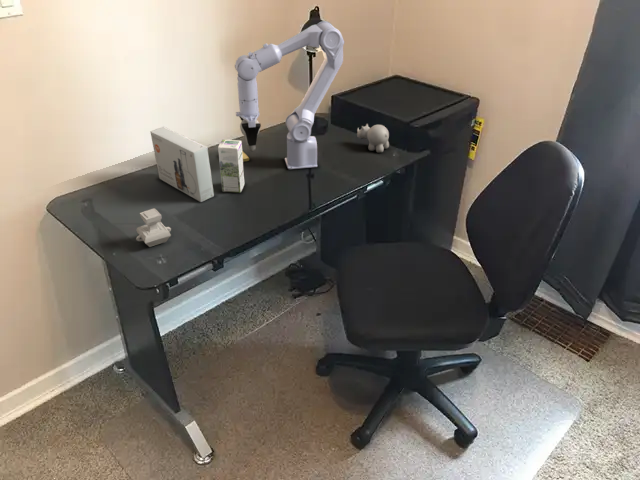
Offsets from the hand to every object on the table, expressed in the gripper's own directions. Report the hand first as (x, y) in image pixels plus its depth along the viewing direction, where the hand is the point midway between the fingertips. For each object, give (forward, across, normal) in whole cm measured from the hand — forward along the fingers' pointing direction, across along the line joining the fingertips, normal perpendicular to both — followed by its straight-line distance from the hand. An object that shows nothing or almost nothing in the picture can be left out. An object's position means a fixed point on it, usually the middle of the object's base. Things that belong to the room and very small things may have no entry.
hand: (251, 140), depth 175 cm
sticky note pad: (+9, -8, -5) cm, 14 cm away
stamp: (+9, +38, -29) cm, 48 cm away
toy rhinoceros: (+10, -9, +42) cm, 44 cm away
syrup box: (+9, +12, -7) cm, 17 cm away
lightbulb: (+4, 0, 0) cm, 4 cm away
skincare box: (+9, +10, -21) cm, 25 cm away
